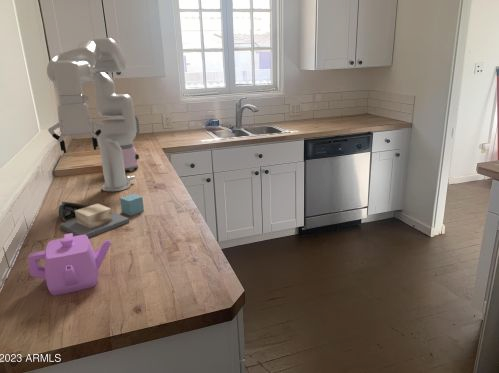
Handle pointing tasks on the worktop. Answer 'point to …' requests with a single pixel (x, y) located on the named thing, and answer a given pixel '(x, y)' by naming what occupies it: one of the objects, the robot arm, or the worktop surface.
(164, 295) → the worktop surface
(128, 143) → the blender
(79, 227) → the stacking base
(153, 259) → the worktop surface
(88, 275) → the teakettle
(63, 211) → the chocolate cake
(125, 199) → the teal block
